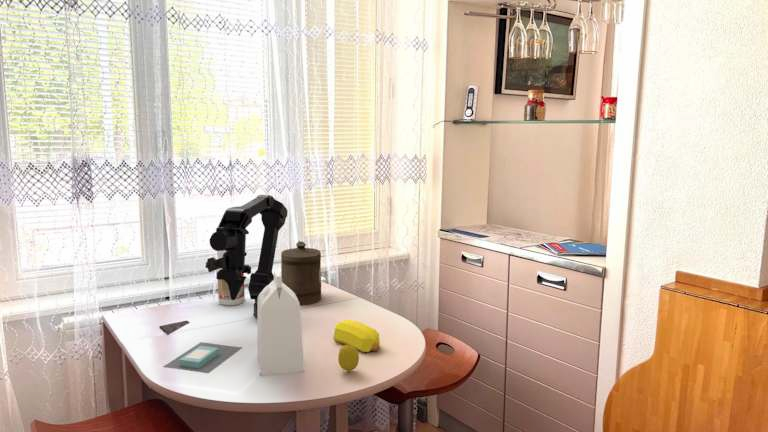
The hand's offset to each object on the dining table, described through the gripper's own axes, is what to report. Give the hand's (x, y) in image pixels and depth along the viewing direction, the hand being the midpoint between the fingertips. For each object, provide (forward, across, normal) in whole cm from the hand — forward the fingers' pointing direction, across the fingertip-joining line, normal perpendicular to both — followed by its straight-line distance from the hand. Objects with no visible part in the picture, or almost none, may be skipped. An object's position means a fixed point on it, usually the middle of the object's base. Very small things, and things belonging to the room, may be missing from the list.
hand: (233, 299), depth 179 cm
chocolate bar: (+13, -6, -17) cm, 22 cm away
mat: (+15, +14, -4) cm, 21 cm away
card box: (+13, +12, -3) cm, 18 cm away
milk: (+14, +18, +18) cm, 29 cm away
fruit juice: (+7, -36, -9) cm, 38 cm away
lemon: (+14, +22, +37) cm, 46 cm away
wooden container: (+6, -40, +16) cm, 44 cm away
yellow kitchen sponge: (+12, +3, +39) cm, 40 cm away
